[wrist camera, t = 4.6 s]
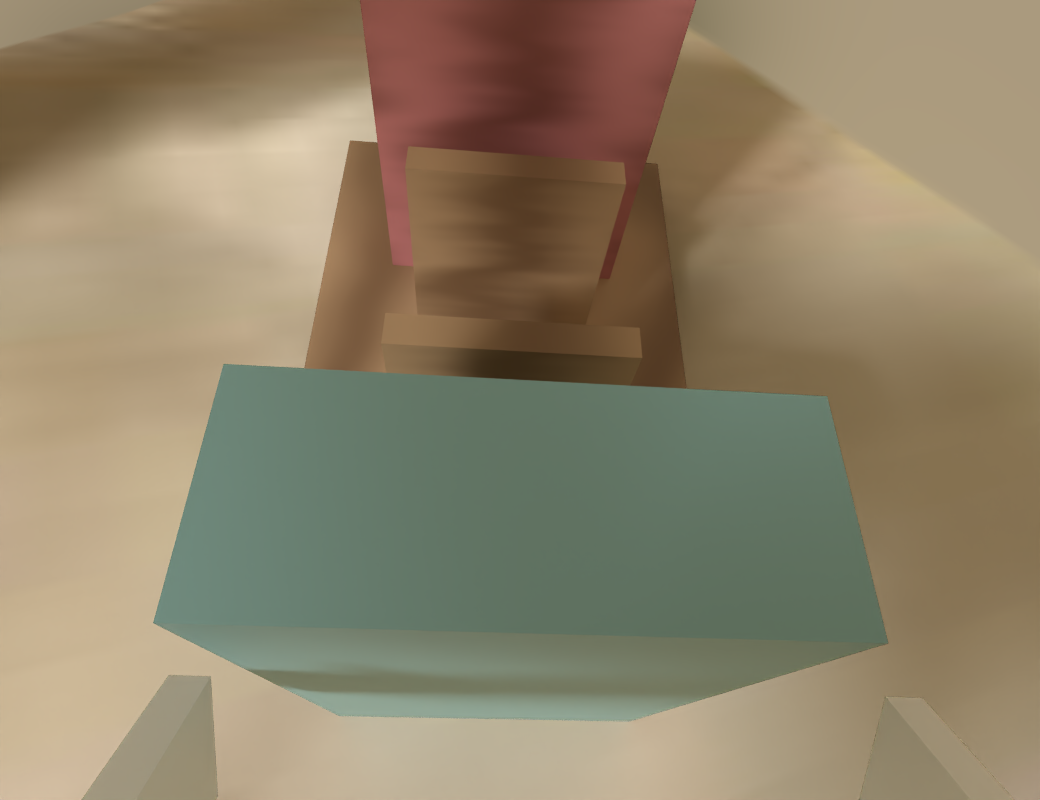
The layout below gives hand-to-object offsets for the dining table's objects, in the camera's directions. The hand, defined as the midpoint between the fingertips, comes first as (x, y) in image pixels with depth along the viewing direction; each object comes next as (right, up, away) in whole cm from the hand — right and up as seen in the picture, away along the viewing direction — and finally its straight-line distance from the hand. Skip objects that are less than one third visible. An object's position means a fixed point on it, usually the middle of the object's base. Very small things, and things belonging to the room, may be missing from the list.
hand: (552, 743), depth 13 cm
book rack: (-2, +11, +19) cm, 22 cm away
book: (-2, -2, +11) cm, 11 cm away
